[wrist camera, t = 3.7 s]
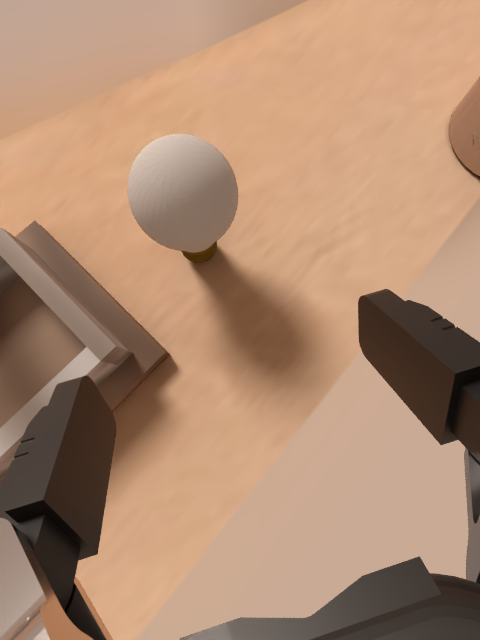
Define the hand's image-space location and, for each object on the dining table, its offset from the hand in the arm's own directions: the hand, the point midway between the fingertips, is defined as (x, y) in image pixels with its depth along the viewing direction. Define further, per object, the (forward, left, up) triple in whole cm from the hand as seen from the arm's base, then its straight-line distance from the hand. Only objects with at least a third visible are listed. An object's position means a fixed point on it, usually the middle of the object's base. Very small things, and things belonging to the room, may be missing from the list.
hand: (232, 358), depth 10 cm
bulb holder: (+9, -12, -13) cm, 20 cm away
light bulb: (-5, -9, -14) cm, 17 cm away
